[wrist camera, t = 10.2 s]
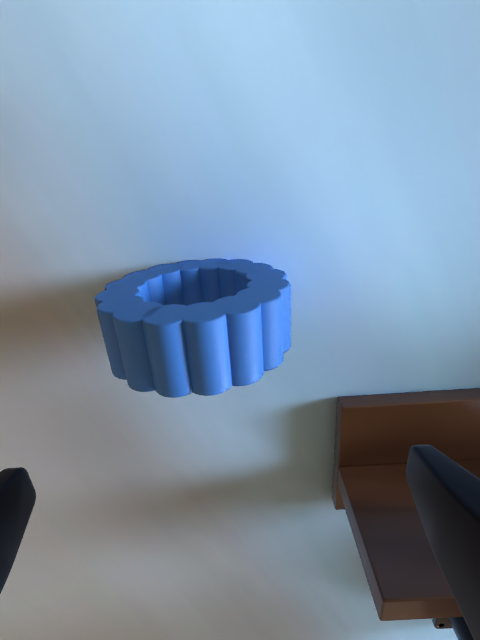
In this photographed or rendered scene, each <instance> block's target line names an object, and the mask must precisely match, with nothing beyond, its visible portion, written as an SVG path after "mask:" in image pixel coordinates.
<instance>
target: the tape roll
mask: <svg viewBox="0 0 480 640" xmlns="http://www.w3.org/2000/svg"><path fill="white" fill-rule="evenodd" d="M95 302H96V306H97V314H98V318H99V321H100V325H101V329H102V333H103V337H104V341H105V345H106V349H107V353H108V357H109V361H110V365H111V369H112V373H113V374H114V376H115V377H117V378H119V379H126V380H127V382H128V385H129V387H130V388H131V389H133V390H135V391H140V392H148V391H154V390H156V392H157V393H158V394H160V395H162V396H165V397H173V398H174V397H182V396H185V395H188V394H190V393H192V392H193V393H195V394H198V395H204V396H209V395H216V394H220V393H222V392H224V391H226V390H228V389H229V388H230V387H231V386H245V385H250V384H252V383H255V382H257V381H258V380H259V379H260V378H261V377H262V375H263V372H264V371H268V370H272V369H275V368H277V367H278V366H279V365H280V364H281V363H282V361H283V353H285V352H286V351H288V350H289V348H290V346H291V302H290V283H289V281H287V280H286V273H285V272H284V271H281V270H277V269H273V268H272V266H271V265H268V264H264V263H253V262H252V261H249V260H244V259H234V260H226V259H207V260H203V261H199V260H187V261H181V262H178V263H175V264H162V265H157V266H153V267H151V268H148V269H147V270H142V271H136V272H132V273H130V274H127V275H125V276H124V277H123V279H119V280H116V281H113V282H111V283H109V284H107V285H106V286H105V291H102V292H100V293H99V294H97V295H96V296H95Z"/></svg>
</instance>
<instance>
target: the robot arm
mask: <svg viewBox="0 0 480 640" xmlns="http://www.w3.org/2000/svg"><path fill="white" fill-rule="evenodd" d="M406 479H407V482H408V485H409V488H410V491H411V494H412V496H413V499H414V502H415V505H416V507H417V510H418V513H419V516H420V519H421V521H422V524H423V527H424V530H425V532H426V535H427V538H428V541H429V543H430V546H431V549H432V551H433V553H434V556H435V558H436V560H437V562H438V564H439V567H440V569H441V571H442V573H443V575H444V577H445V579H446V581H447V583H448V586H449V588H450V590H451V592H452V594H453V596H454V598H455V600H456V602H457V605H458V607H459V609H460V611H461V613H462V615H463V617H448V618H433V619H432V621H433V624H434V626H435V628H438V629H444V628H453V630H454V632H455V634H456V636H457V638H458V640H480V479H479V478H478V477H476V476H475V475H473V474H472V473H470V472H469V471H468V470H466V469H465V468H463V467H462V466H460V465H459V464H458V463H456V462H455V461H453V460H452V459H450V458H449V457H447V456H446V455H445V454H443V453H442V452H440V451H439V450H437V449H436V448H434V447H433V446H431V445H413V446H411V448H410V450H409V456H408V461H407V467H406ZM35 500H36V492H35V489H34V487H33V484H32V482H31V479H30V477H29V475H28V472H27V470H26V469H24V468H22V467H20V468H7V469H4V470H2V471H1V472H0V593H1V591H2V589H3V587H4V584H5V582H6V580H7V578H8V575H9V573H10V570H11V568H12V565H13V563H14V560H15V557H16V555H17V552H18V549H19V546H20V543H21V540H22V538H23V535H24V532H25V529H26V526H27V524H28V521H29V518H30V515H31V512H32V510H33V507H34V504H35Z"/></svg>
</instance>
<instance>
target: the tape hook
mask: <svg viewBox="0 0 480 640" xmlns="http://www.w3.org/2000/svg"><path fill="white" fill-rule="evenodd" d="M413 445H431V446H433V447H434V448H436V449H437V450H439V451H440V452H442V453H443V454H445V455H446V456H447V457H449V458H450V459H452V460H453V461H455V462H456V463H458V464H459V465H460V466H462V467H463V468H465V469H466V470H468V471H469V472H470V473H472V474H473V475H475V476H476V477H478V478H479V479H480V388H475V389H459V390H443V391H427V392H411V393H394V394H378V395H362V396H346V397H338V399H337V416H336V434H335V451H334V468H333V486H332V499H333V503H334V506H335V509H336V510H339V509H345V510H346V514H347V517H348V520H349V523H350V526H351V530H352V533H353V536H354V539H355V542H356V546H357V549H358V552H359V555H360V558H361V562H362V565H363V568H364V571H365V574H366V578H367V581H368V584H369V587H370V590H371V594H372V597H373V600H374V603H375V606H376V610H377V613H378V616H379V619H380V620H381V621H390V620H409V619H428V618H448V617H463V615H462V613H461V611H460V609H459V607H458V605H457V602H456V600H455V598H454V596H453V594H452V592H451V590H450V588H449V586H448V583H447V581H446V579H445V577H444V575H443V573H442V571H441V569H440V567H439V564H438V562H437V560H436V558H435V556H434V553H433V551H432V549H431V546H430V543H429V541H428V538H427V535H426V532H425V530H424V527H423V524H422V521H421V519H420V516H419V513H418V510H417V507H416V505H415V502H414V499H413V496H412V494H411V491H410V488H409V485H408V482H407V479H406V467H407V461H408V456H409V450H410V448H411V446H413Z"/></svg>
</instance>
